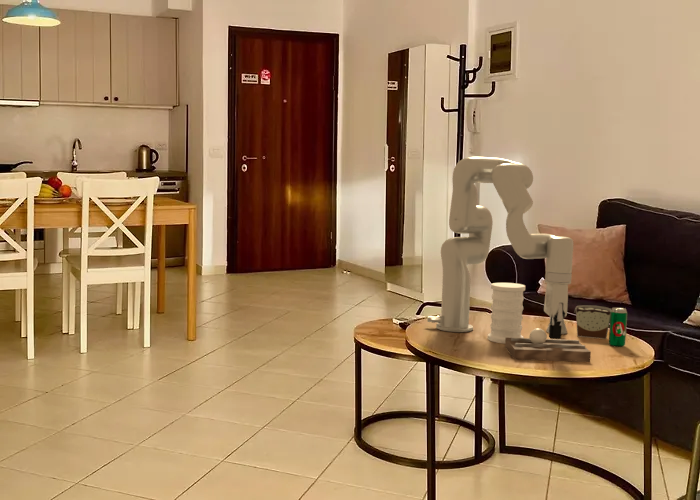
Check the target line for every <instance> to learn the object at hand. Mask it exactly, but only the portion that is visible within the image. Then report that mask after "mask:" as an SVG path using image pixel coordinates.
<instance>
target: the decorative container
mask: <svg viewBox="0 0 700 500" xmlns="http://www.w3.org/2000/svg"><path fill="white" fill-rule="evenodd" d="M490 289H492V295H491V300H492V303H491V314H490V319H491V322H490V326H489V327H490V332H489V333H488V334H487V340H488V341H490V342H494V343H499V344H505V338H525V337H524V336H523V335H522V330H523V325H522V321H523V320H524V319H523V317H524V316H523V310H524V306H523V302H524V299H525V298H524V292H525V291H526V285H525V284H522V283H516V282H515V283H514V282H493V283H491V286H490Z"/></svg>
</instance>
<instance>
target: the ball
mask: <svg viewBox="0 0 700 500" xmlns="http://www.w3.org/2000/svg"><path fill="white" fill-rule="evenodd" d="M547 337H548V336H547V332H546V331H545V330H544V329H542V328H541V327H540V328H539V327H538V328H537V327H536V328H534V329H532V330H531V331H530V333H529V338H530V340H531V342H532V343H534V344H543V343H544V342H545V341H546V339H548V338H547Z"/></svg>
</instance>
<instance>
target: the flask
mask: <svg viewBox="0 0 700 500" xmlns="http://www.w3.org/2000/svg"><path fill="white" fill-rule="evenodd" d="M550 325H552V324H550V322H549V323H548V325H547V328H546V331H545V333H549V326H550ZM567 333H568V330H567V326H566V323H565V318H564V317H563V316H562V325H561V335H567Z"/></svg>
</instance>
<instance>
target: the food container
mask: <svg viewBox="0 0 700 500" xmlns="http://www.w3.org/2000/svg"><path fill="white" fill-rule="evenodd" d="M611 310H612V308H609V307H606V306H600V305H590V304H589V305H577V306H575V308H574V312H573V314H575V315H576V317H575V318H576V319H575V320H576V336H577V337H578V338H579V337H581V338H588V339H589V338H590V339H591V338H592V339H599V338H600V339H601V340H607V337H608V334H609V332H608V331H609V328H610V314H611ZM600 339H599V340H600Z"/></svg>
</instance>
